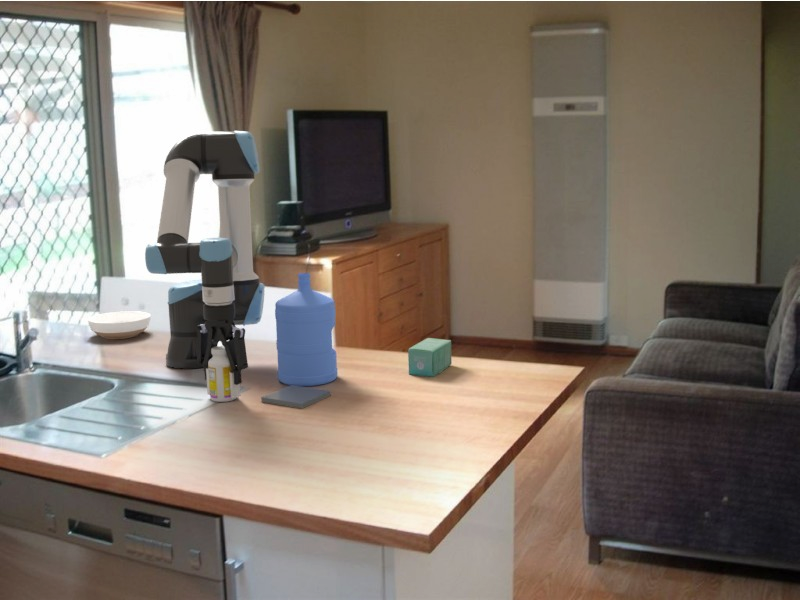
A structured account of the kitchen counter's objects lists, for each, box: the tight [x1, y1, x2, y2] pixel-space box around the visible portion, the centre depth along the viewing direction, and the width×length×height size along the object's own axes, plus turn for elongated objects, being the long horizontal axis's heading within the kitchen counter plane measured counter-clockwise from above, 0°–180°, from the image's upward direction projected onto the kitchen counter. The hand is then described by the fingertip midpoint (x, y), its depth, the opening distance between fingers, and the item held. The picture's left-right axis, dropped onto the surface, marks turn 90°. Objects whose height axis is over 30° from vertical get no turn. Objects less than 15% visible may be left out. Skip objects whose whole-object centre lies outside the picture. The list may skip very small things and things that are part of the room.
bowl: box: [88, 310, 151, 340], centre depth 295 cm, size 20×20×6 cm
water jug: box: [274, 272, 338, 387], centre depth 236 cm, size 16×16×28 cm
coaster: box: [261, 385, 332, 409], centre depth 221 cm, size 12×12×1 cm
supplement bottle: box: [208, 345, 238, 403], centre depth 221 cm, size 7×7×13 cm
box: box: [407, 337, 452, 378], centre depth 245 cm, size 7×14×8 cm, turn 155°
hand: (223, 394), depth 222 cm, fingers closed on supplement bottle, 7 cm apart
